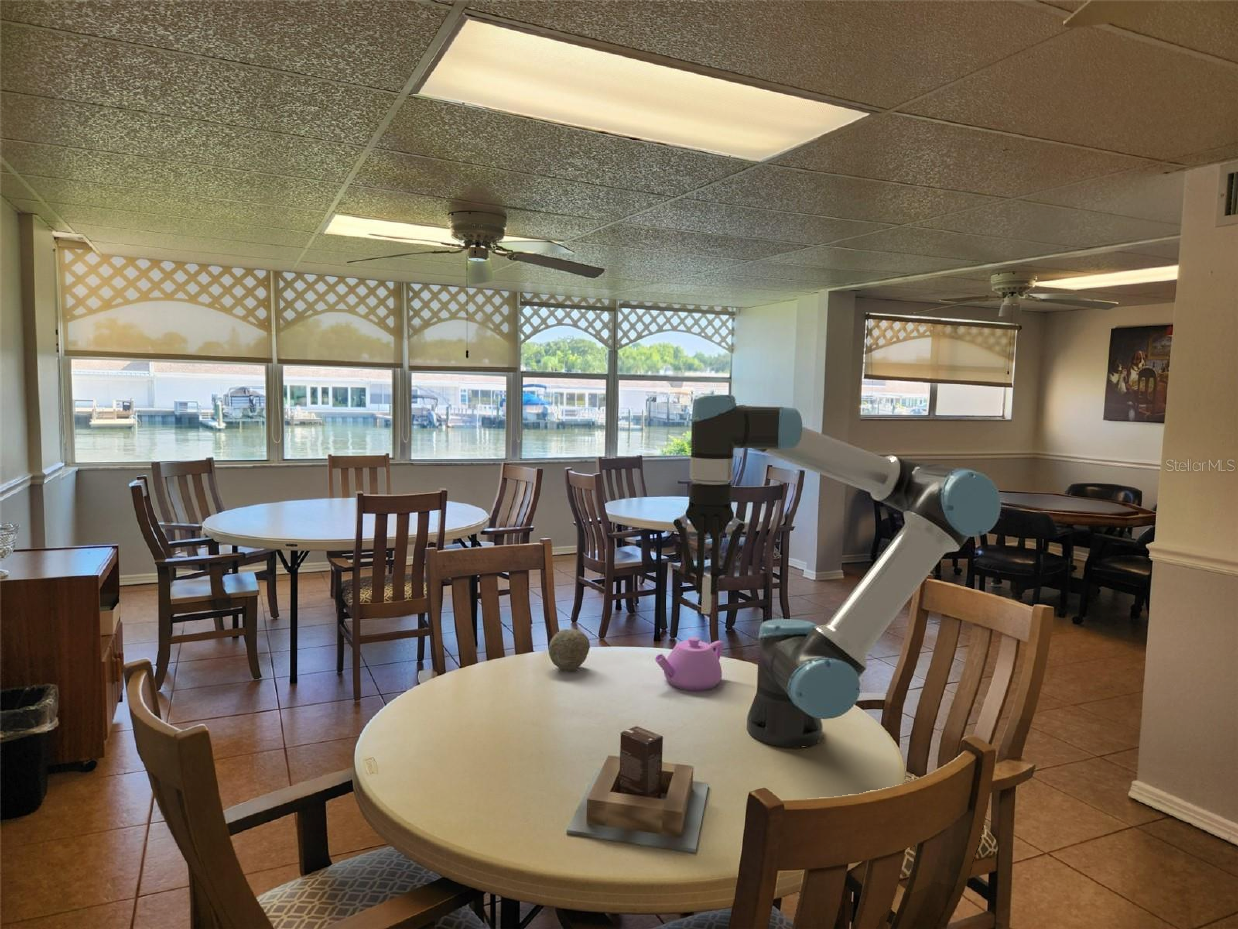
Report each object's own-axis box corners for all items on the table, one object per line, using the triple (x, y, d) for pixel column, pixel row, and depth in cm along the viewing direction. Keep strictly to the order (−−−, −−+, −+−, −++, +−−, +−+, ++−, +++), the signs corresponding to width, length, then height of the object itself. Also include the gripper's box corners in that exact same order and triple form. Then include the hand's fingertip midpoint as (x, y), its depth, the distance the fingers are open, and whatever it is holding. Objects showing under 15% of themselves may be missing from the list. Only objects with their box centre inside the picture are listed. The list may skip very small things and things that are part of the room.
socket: (708, 786, 132) (709, 761, 132) (695, 853, 112) (696, 823, 112) (597, 771, 136) (598, 747, 136) (566, 833, 117) (567, 805, 116)
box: (662, 806, 124) (664, 735, 123) (644, 817, 121) (646, 744, 120) (634, 792, 128) (636, 724, 127) (616, 802, 125) (618, 732, 124)
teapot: (639, 680, 181) (640, 637, 180) (704, 666, 192) (705, 625, 191) (673, 700, 169) (675, 654, 168) (740, 684, 180) (742, 640, 179)
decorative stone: (554, 678, 181) (555, 637, 180) (544, 666, 189) (545, 627, 188) (594, 673, 185) (595, 633, 184) (582, 661, 193) (583, 623, 192)
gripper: (749, 481, 136) (743, 609, 138) (677, 477, 139) (673, 603, 141) (747, 485, 129) (741, 620, 131) (671, 481, 131) (667, 614, 133)
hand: (706, 611), depth 136 cm, fingers closed
